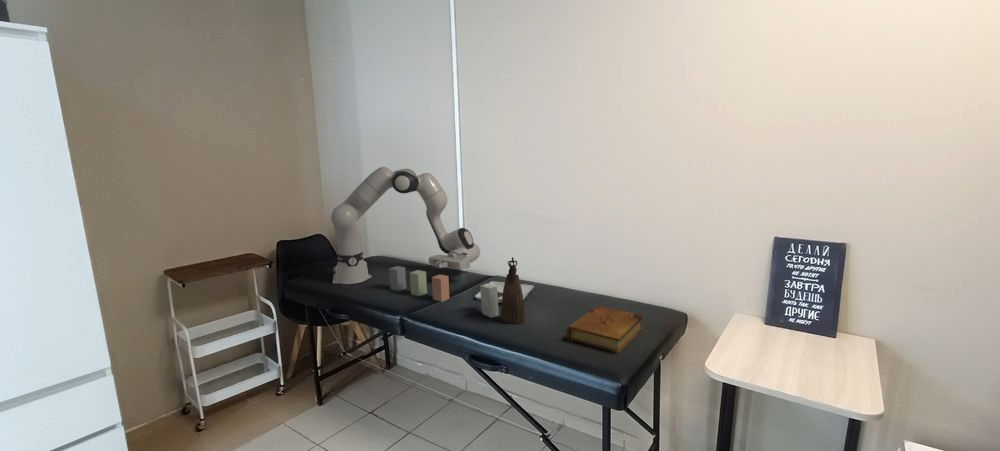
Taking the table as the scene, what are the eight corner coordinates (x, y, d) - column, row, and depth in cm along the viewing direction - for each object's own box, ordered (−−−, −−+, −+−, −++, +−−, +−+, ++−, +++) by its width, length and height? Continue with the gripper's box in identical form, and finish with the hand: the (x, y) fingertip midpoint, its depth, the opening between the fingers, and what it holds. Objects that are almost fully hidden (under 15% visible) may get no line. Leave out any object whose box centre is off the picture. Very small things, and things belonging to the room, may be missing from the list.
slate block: (398, 286, 219) (397, 265, 217) (406, 288, 216) (404, 267, 214) (390, 289, 215) (389, 268, 213) (398, 291, 212) (396, 270, 210)
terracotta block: (440, 296, 204) (439, 274, 202) (449, 298, 201) (448, 276, 199) (432, 299, 200) (431, 277, 198) (441, 301, 197) (440, 279, 195)
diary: (594, 319, 180) (594, 305, 179) (642, 330, 170) (643, 315, 168) (566, 341, 162) (567, 325, 161) (618, 354, 151) (619, 338, 150)
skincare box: (499, 315, 185) (498, 286, 182) (490, 318, 182) (489, 288, 180) (489, 311, 189) (488, 282, 187) (480, 313, 187) (479, 284, 184)
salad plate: (521, 308, 192) (521, 300, 192) (474, 303, 199) (473, 295, 198) (534, 291, 212) (534, 284, 211) (491, 287, 219) (490, 280, 218)
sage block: (418, 291, 211) (417, 270, 209) (427, 293, 209) (425, 271, 207) (411, 294, 207) (409, 272, 205) (419, 296, 205) (418, 274, 203)
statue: (521, 315, 184) (520, 255, 178) (526, 323, 177) (525, 261, 170) (499, 318, 182) (498, 257, 176) (504, 326, 175) (502, 263, 169)
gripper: (439, 250, 232) (420, 256, 221) (472, 254, 221) (453, 262, 210) (440, 262, 234) (421, 269, 222) (472, 267, 222) (454, 275, 211)
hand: (437, 266), depth 216 cm, fingers closed
